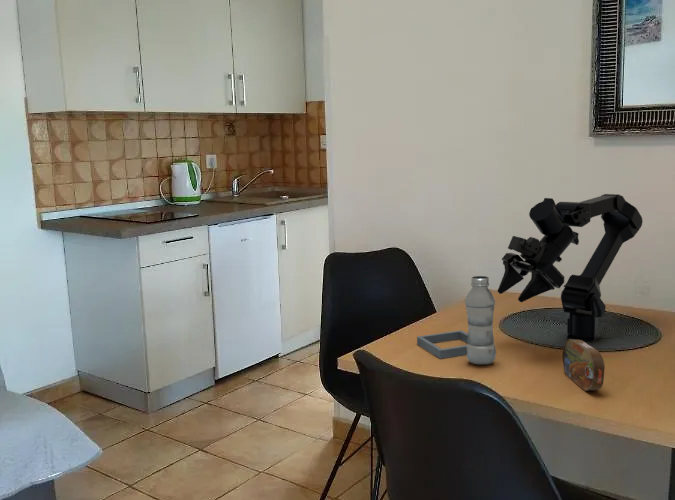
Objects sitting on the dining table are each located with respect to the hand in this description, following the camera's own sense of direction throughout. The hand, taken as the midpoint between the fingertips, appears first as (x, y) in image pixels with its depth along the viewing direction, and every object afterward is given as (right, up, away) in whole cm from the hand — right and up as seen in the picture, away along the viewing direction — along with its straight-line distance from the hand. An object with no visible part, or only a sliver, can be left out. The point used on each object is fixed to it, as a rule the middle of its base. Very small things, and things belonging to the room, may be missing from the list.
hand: (508, 296), depth 156 cm
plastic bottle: (-7, -15, -3) cm, 17 cm away
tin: (+11, -17, -17) cm, 26 cm away
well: (-12, -13, +9) cm, 20 cm away
